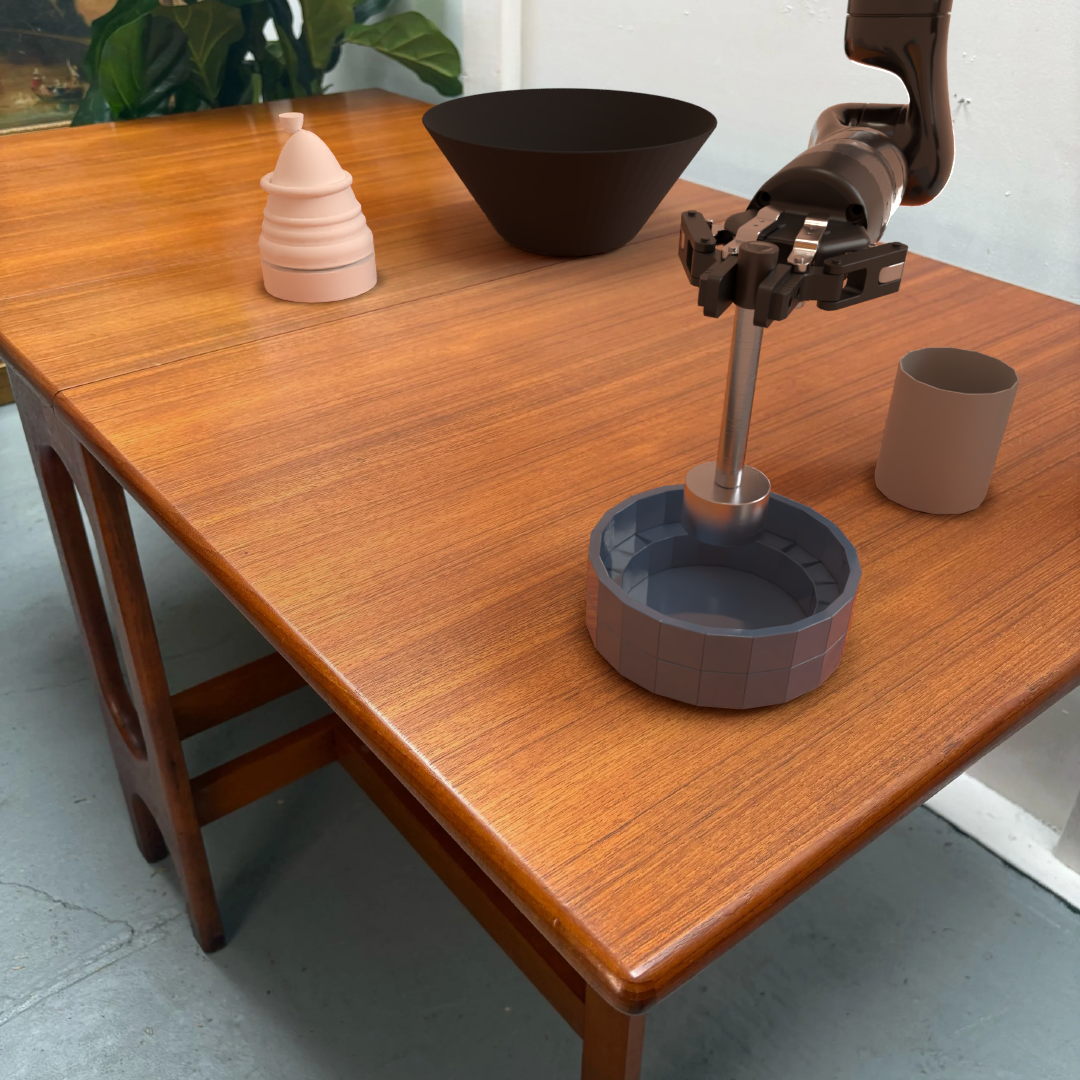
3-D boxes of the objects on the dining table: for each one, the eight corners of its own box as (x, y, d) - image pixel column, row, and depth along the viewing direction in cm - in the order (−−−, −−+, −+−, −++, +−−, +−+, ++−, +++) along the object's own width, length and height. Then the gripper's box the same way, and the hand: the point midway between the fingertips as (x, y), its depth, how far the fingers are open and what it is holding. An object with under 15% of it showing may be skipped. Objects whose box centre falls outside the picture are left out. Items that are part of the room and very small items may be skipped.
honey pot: (243, 282, 118) (215, 117, 108) (334, 256, 126) (316, 100, 115) (306, 311, 111) (283, 137, 100) (399, 282, 118) (387, 117, 108)
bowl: (738, 220, 139) (751, 102, 130) (650, 307, 112) (660, 166, 103) (505, 188, 151) (503, 79, 142) (375, 260, 124) (364, 131, 116)
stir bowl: (826, 562, 72) (840, 489, 68) (862, 726, 58) (882, 646, 55) (594, 547, 73) (597, 475, 70) (577, 705, 60) (579, 625, 56)
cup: (852, 482, 81) (876, 366, 75) (911, 450, 85) (938, 338, 80) (947, 526, 76) (981, 405, 70) (1005, 490, 80) (1041, 373, 74)
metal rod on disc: (761, 504, 63) (803, 233, 54) (767, 550, 59) (814, 265, 50) (680, 499, 64) (708, 229, 54) (680, 544, 60) (711, 261, 50)
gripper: (724, 136, 64) (613, 208, 51) (952, 164, 59) (892, 252, 46) (711, 253, 68) (606, 347, 56) (923, 289, 63) (861, 401, 50)
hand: (737, 303), depth 51 cm, fingers closed on metal rod on disc
